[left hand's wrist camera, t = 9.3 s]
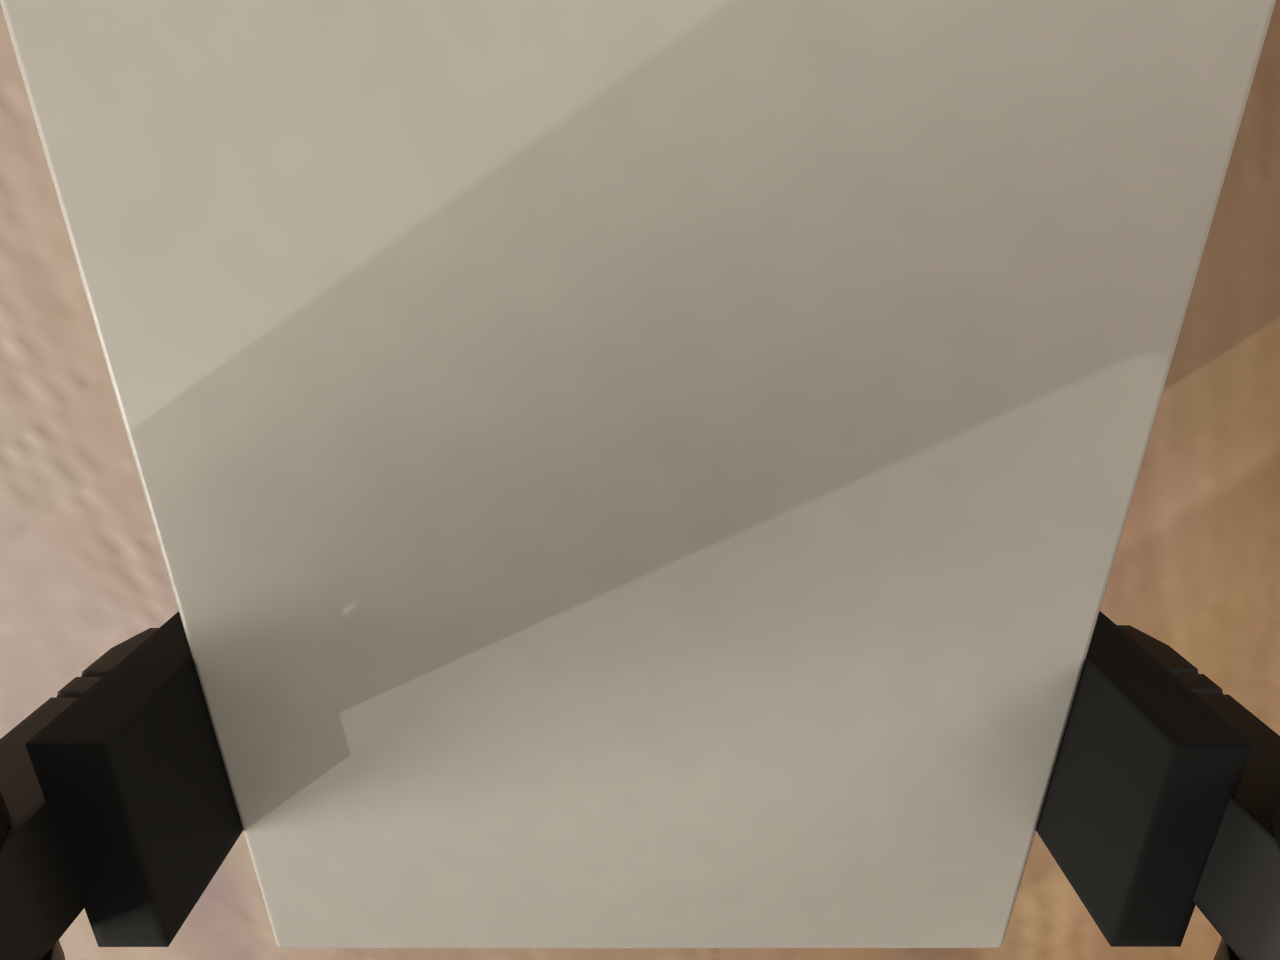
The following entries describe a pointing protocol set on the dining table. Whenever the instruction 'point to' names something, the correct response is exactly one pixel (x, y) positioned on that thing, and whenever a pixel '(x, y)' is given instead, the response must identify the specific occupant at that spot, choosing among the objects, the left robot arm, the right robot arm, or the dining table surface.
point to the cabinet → (638, 430)
